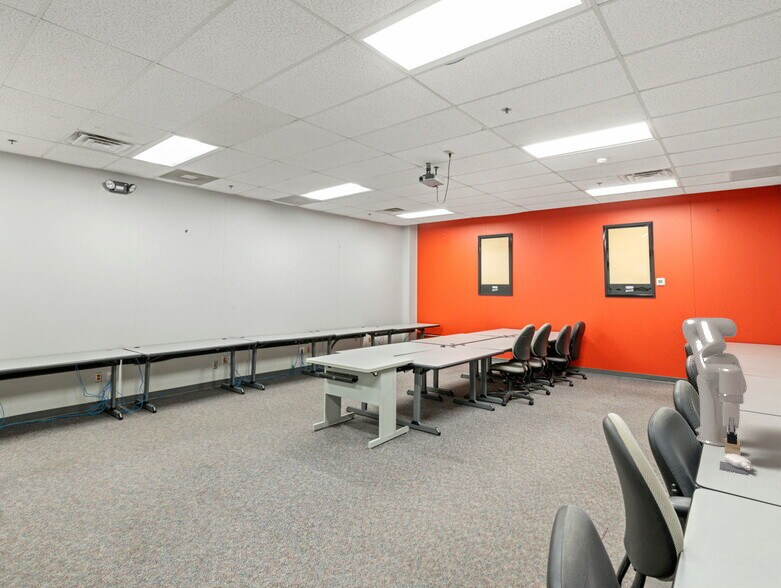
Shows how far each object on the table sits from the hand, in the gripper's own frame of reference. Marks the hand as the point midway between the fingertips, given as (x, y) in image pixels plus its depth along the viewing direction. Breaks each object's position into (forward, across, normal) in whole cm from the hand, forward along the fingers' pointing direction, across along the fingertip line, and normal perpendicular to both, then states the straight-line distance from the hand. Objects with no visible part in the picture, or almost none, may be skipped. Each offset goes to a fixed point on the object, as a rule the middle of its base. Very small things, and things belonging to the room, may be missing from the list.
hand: (732, 443), depth 165 cm
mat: (+6, +11, 0) cm, 13 cm away
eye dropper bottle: (+5, +4, 0) cm, 6 cm away
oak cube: (+7, -9, 0) cm, 11 cm away
